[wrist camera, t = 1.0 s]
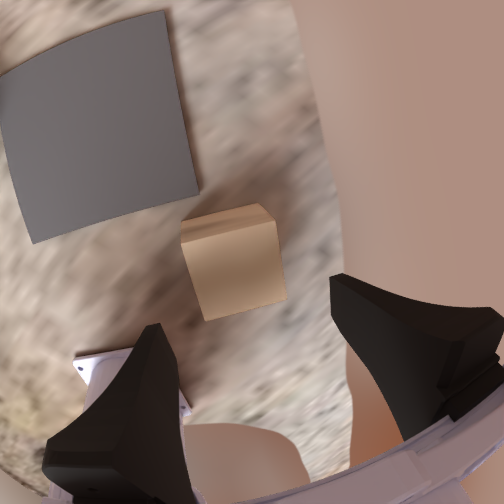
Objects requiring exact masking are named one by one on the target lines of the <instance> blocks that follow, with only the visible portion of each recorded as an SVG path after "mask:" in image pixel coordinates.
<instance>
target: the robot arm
mask: <svg viewBox="0 0 504 504" xmlns="http://www.w3.org/2000/svg"><path fill="white" fill-rule="evenodd" d="M329 280H330V302H331V316H332V318H333V320H334V322H335V324H336V325H337V327H338V329H339V331H340V332H341V334H342V335H343V337H344V338H345V339H346V341H347V342H348V343H349V345H350V346H351V347H352V349H353V350H354V351H355V353H356V354H357V355H358V357H359V358H360V359H361V360H362V362H363V363H364V364H365V366H366V367H367V368H368V370H369V371H370V373H371V375H372V376H373V378H374V380H375V382H376V383H377V385H378V387H379V389H380V390H381V392H382V394H383V396H384V398H385V400H386V402H387V404H388V406H389V408H390V410H391V412H392V414H393V416H394V419H395V421H396V423H397V425H398V428H399V430H400V433H401V435H402V437H403V440H404V442H403V443H401V444H400V445H397V446H396V447H394V448H392V449H390V450H388V451H386V452H384V453H382V454H380V455H378V456H376V457H374V458H372V459H370V460H367V461H365V462H363V463H361V464H359V465H356V466H354V467H352V468H349V469H347V470H344V471H342V472H340V473H337V474H334V475H332V476H329V477H327V478H324V479H321V480H318V481H315V482H313V483H310V484H307V485H303V486H300V487H298V488H294V489H291V490H287V491H284V492H280V493H276V494H273V495H269V496H265V497H261V498H257V499H252V500H247V501H243V502H237V503H232V504H474V503H473V502H472V500H471V499H470V497H469V496H468V494H467V493H466V491H465V490H464V488H463V487H462V485H461V484H460V481H462V480H463V479H464V478H465V477H467V476H468V475H469V474H470V473H472V472H473V471H474V470H475V469H477V468H478V467H479V466H480V465H481V464H482V463H484V462H485V461H486V460H487V459H488V458H489V457H490V456H491V455H492V454H493V453H495V452H496V451H497V449H499V448H500V447H501V446H502V445H503V444H504V364H503V366H501V365H500V364H499V363H498V361H499V360H500V357H499V356H498V355H497V354H496V353H495V352H496V350H497V347H498V345H499V342H500V340H501V338H502V335H503V332H504V317H502V316H501V315H500V314H499V313H497V312H496V311H495V310H494V309H492V308H491V307H476V308H475V307H472V308H468V307H452V306H443V305H437V304H431V303H426V302H421V301H417V300H413V299H409V298H406V297H403V296H399V295H397V294H394V293H391V292H388V291H385V290H383V289H380V288H378V287H375V286H373V285H370V284H368V283H366V282H363V281H361V280H358V279H356V278H354V277H351V276H349V275H346V274H343V273H341V274H338V275H334V276H331V277H329ZM73 365H74V367H75V368H76V369H77V371H78V372H79V374H80V375H81V377H82V378H83V379H84V381H85V382H86V384H87V385H88V390H87V394H86V398H85V403H84V408H83V412H82V414H81V415H80V416H79V417H78V418H77V419H76V420H74V421H73V422H72V423H71V424H70V425H68V426H67V427H66V428H64V429H63V430H61V431H60V432H59V433H57V434H56V435H54V436H53V437H51V438H50V439H48V440H47V444H46V449H45V453H44V458H43V463H42V471H43V473H44V474H45V476H46V477H47V478H48V479H49V480H50V487H49V494H48V497H42V504H207V502H206V501H205V499H204V497H203V495H202V494H201V493H200V492H199V491H198V489H196V488H195V487H193V486H191V483H190V479H189V475H188V471H187V462H186V452H185V442H184V432H183V420H182V417H183V416H188V415H191V413H192V411H191V408H190V406H189V405H188V403H187V401H186V399H185V398H184V396H183V394H182V392H181V390H180V389H179V376H178V368H177V361H176V357H175V355H174V353H173V351H172V348H171V346H170V344H169V342H168V340H167V338H166V335H165V333H164V331H163V329H162V326H161V324H160V323H157V324H153V325H149V326H146V327H145V329H144V330H143V332H142V334H141V336H140V337H139V339H138V341H137V343H136V344H135V346H134V347H132V348H127V349H122V350H116V351H111V352H105V353H100V354H94V355H88V356H82V357H76V358H74V359H73ZM81 367H82V368H81Z"/></svg>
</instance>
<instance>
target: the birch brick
mask: <svg viewBox="0 0 504 504" xmlns="http://www.w3.org/2000/svg"><path fill="white" fill-rule="evenodd" d="M181 247H182V251H183V254H184V257H185V261H186V264H187V267H188V270H189V274H190V277H191V280H192V283H193V286H194V290H195V293H196V296H197V299H198V302H199V305H200V308H201V311H202V314H203V317H204V320H205V322H206V321H210V320H214V319H217V318H221V317H225V316H229V315H233V314H237V313H240V312H244V311H248V310H251V309H255V308H259V307H262V306H266V305H269V304H273V303H276V302H280V301H283V300H287V295H286V288H285V281H284V274H283V267H282V260H281V253H280V247H279V240H278V234H277V227H276V221H275V219H274V218H273V217H272V216H271V215H270V214H269V213H268V212H267V211H266V210H265V209H264V208H263V207H262V206H261V205H260V204H259V203H255V204H251V205H246V206H242V207H238V208H234V209H229V210H225V211H221V212H217V213H213V214H209V215H205V216H201V217H197V218H193V219H189V220H185V221H182V222H181Z"/></svg>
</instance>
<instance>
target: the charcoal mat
mask: <svg viewBox="0 0 504 504" xmlns="http://www.w3.org/2000/svg"><path fill="white" fill-rule="evenodd" d="M0 125H1V131H2V137H3V142H4V147H5V152H6V157H7V161H8V166H9V170H10V174H11V178H12V182H13V185H14V189H15V193H16V196H17V199H18V203H19V206H20V209H21V212H22V215H23V218H24V221H25V224H26V227H27V230H28V233H29V235H30V238H31V241H32V243H33V244H36V243H39V242H41V241H44V240H47V239H50V238H53V237H56V236H59V235H62V234H64V233H67V232H70V231H74V230H77V229H80V228H83V227H86V226H89V225H92V224H95V223H99V222H102V221H105V220H108V219H112V218H115V217H118V216H122V215H125V214H129V213H132V212H136V211H139V210H143V209H146V208H150V207H154V206H157V205H161V204H165V203H169V202H172V201H176V200H180V199H184V198H188V197H192V196H196V195H200V194H199V190H198V185H197V181H196V176H195V172H194V167H193V163H192V158H191V153H190V149H189V144H188V139H187V134H186V130H185V125H184V120H183V115H182V110H181V105H180V99H179V94H178V89H177V84H176V78H175V73H174V67H173V62H172V56H171V50H170V44H169V38H168V32H167V26H166V20H165V14H164V10H162V11H157V12H153V13H149V14H145V15H141V16H138V17H134V18H130V19H127V20H124V21H121V22H117V23H114V24H111V25H108V26H105V27H102V28H100V29H97V30H94V31H91V32H89V33H86V34H84V35H81V36H79V37H76V38H74V39H72V40H69V41H67V42H65V43H62V44H60V45H58V46H56V47H54V48H52V49H50V50H47V51H45V52H43V53H41V54H40V55H38V56H36V57H34V58H32V59H30V60H28V61H26V62H25V63H23V64H21V65H19V66H18V67H16V68H14V69H12V70H11V71H9V72H7V73H6V74H4V75H3V76H1V77H0Z"/></svg>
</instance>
